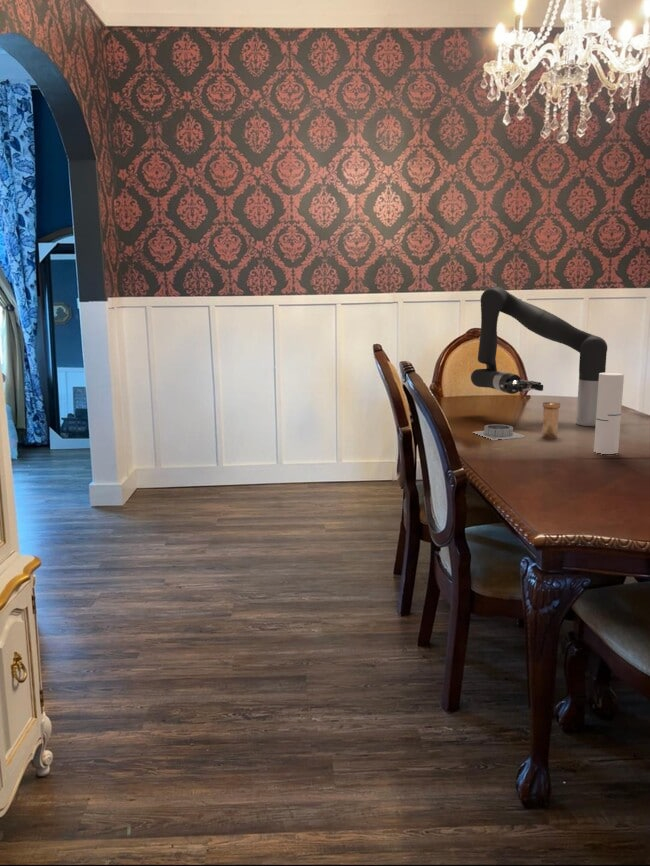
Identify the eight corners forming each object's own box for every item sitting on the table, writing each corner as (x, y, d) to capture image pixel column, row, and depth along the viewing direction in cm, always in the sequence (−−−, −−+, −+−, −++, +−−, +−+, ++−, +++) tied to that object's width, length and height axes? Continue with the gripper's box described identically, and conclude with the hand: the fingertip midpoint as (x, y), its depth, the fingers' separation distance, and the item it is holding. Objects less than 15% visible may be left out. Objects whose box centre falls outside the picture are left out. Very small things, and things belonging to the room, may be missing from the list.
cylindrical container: (620, 455, 216) (626, 375, 211) (595, 454, 217) (601, 375, 212) (615, 450, 223) (621, 372, 218) (591, 449, 224) (597, 372, 219)
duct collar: (503, 430, 255) (504, 422, 255) (524, 437, 243) (525, 429, 243) (472, 433, 251) (473, 425, 251) (492, 440, 239) (492, 431, 239)
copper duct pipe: (551, 434, 247) (553, 401, 245) (561, 438, 242) (563, 404, 239) (537, 436, 245) (539, 402, 243) (547, 439, 240) (549, 405, 238)
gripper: (491, 373, 263) (516, 379, 248) (523, 372, 267) (549, 377, 252) (490, 393, 264) (514, 399, 249) (522, 391, 269) (548, 397, 254)
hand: (532, 388), depth 251 cm, fingers open, 8 cm apart
